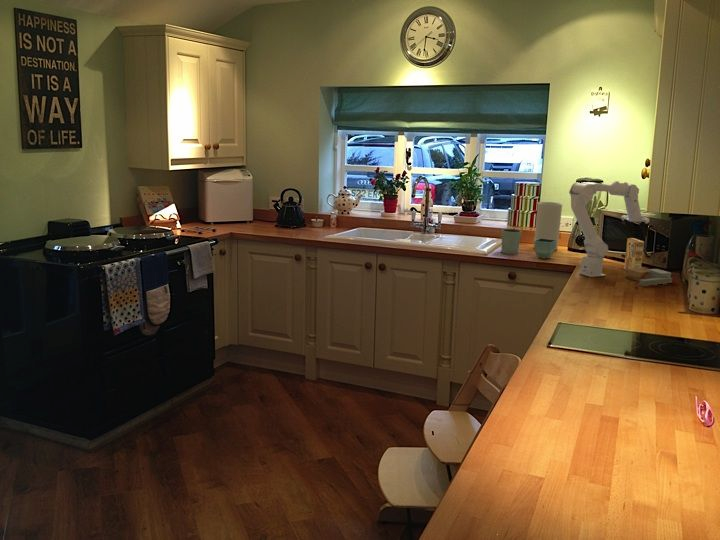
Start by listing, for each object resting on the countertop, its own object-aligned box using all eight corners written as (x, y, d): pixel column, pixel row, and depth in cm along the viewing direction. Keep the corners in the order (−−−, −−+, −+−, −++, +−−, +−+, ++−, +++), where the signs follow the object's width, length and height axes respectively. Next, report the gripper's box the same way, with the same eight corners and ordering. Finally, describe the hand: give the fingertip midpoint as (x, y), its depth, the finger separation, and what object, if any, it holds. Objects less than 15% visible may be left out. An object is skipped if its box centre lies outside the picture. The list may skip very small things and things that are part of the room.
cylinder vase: (532, 246, 387) (536, 201, 381) (555, 247, 386) (560, 202, 380) (535, 250, 375) (540, 204, 369) (559, 252, 373) (564, 205, 368)
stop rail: (643, 286, 303) (644, 280, 303) (638, 285, 305) (639, 279, 305) (671, 283, 311) (672, 278, 311) (667, 282, 313) (668, 276, 313)
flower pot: (532, 257, 355) (534, 240, 353) (538, 255, 363) (539, 238, 361) (549, 260, 351) (551, 242, 349) (554, 257, 358) (556, 240, 356)
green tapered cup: (522, 252, 367) (524, 230, 364) (515, 255, 358) (517, 232, 356) (503, 250, 372) (505, 227, 369) (496, 252, 364) (498, 230, 361)
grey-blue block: (660, 283, 312) (661, 273, 311) (646, 279, 319) (647, 269, 318) (669, 282, 315) (671, 272, 314) (655, 278, 322) (656, 268, 321)
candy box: (640, 273, 329) (645, 241, 326) (632, 273, 329) (636, 241, 325) (631, 269, 338) (635, 238, 335) (623, 269, 337) (627, 237, 334)
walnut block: (639, 282, 312) (640, 272, 311) (625, 278, 319) (626, 268, 318) (648, 281, 315) (650, 271, 314) (634, 277, 322) (635, 267, 321)
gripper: (651, 206, 316) (657, 233, 320) (626, 203, 329) (632, 230, 333) (641, 212, 313) (646, 240, 318) (616, 209, 326) (621, 236, 331)
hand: (638, 235), depth 325 cm, fingers open, 7 cm apart
